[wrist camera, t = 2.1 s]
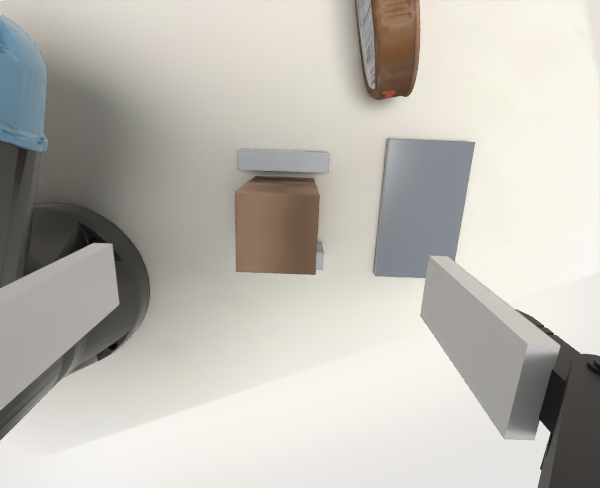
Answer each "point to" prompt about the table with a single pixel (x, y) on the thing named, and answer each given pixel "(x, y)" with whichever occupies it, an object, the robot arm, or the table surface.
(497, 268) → the table surface
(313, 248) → the walnut block
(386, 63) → the tin
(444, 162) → the slate plate
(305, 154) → the cradle
